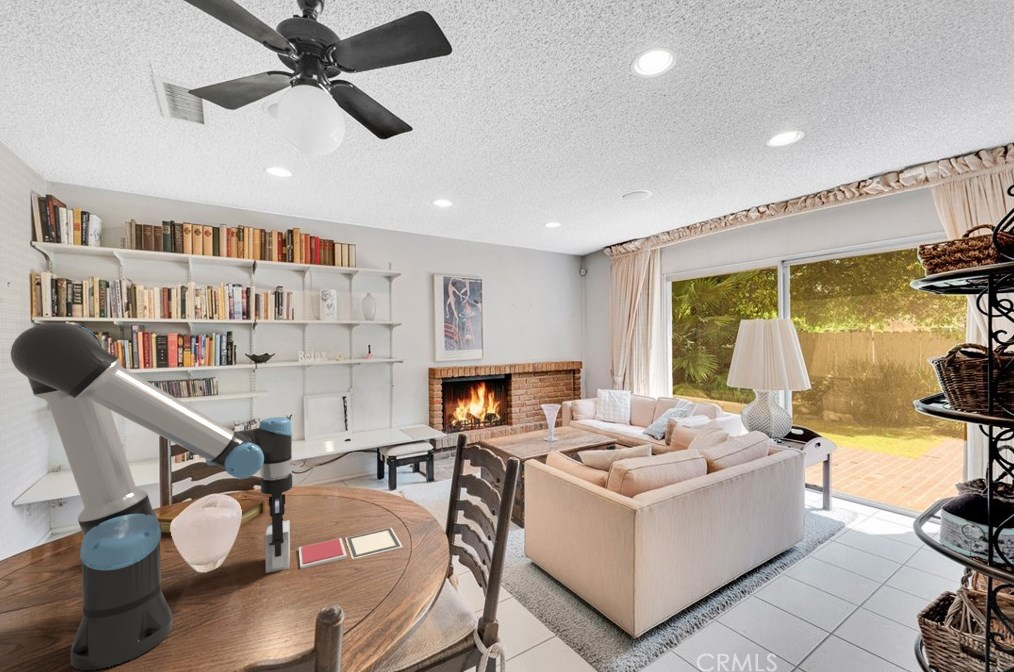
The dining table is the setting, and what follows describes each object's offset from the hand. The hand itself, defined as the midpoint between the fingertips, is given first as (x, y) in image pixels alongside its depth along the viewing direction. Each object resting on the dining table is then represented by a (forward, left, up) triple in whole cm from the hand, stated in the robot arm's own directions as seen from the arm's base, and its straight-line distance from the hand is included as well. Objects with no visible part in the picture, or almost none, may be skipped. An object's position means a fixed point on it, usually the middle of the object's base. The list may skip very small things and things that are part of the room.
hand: (278, 559), depth 116 cm
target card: (0, -25, -2) cm, 25 cm away
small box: (0, 0, -2) cm, 2 cm away
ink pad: (0, -11, -2) cm, 11 cm away
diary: (+40, +19, -2) cm, 44 cm away
